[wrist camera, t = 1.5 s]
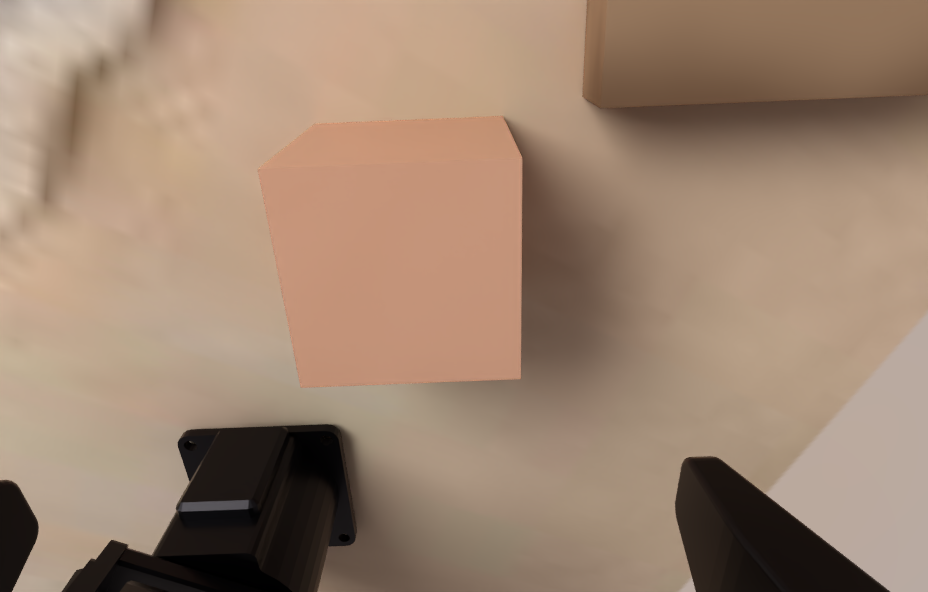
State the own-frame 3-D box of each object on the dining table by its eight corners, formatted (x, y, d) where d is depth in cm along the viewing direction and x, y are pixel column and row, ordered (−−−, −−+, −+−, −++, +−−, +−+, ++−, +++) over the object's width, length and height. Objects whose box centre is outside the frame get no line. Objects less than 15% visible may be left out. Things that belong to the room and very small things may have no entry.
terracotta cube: (503, 285, 21) (520, 379, 16) (340, 291, 21) (301, 387, 16) (502, 115, 18) (522, 158, 13) (315, 123, 18) (257, 168, 13)
